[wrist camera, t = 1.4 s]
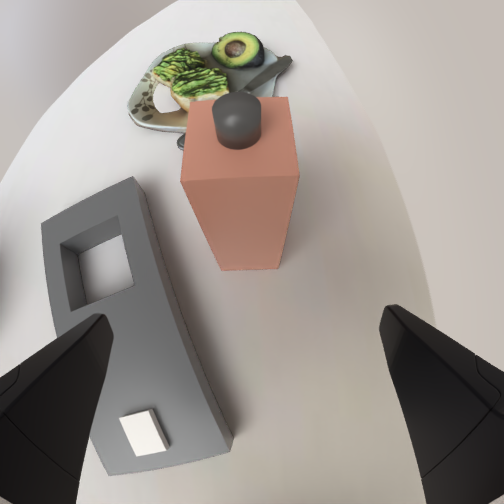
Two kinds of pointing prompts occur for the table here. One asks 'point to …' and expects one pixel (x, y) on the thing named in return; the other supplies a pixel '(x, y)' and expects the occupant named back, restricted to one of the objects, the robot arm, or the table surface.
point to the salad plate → (204, 78)
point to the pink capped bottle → (241, 177)
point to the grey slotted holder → (134, 340)
